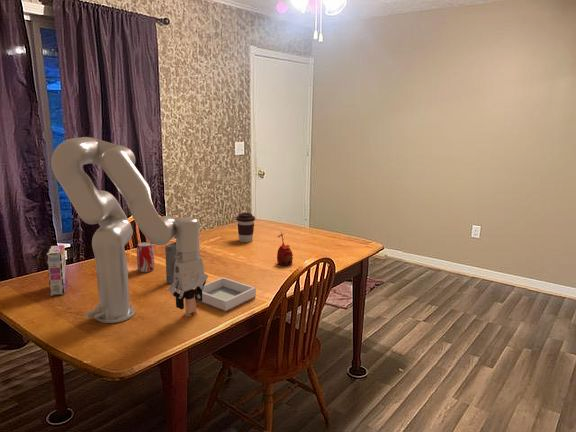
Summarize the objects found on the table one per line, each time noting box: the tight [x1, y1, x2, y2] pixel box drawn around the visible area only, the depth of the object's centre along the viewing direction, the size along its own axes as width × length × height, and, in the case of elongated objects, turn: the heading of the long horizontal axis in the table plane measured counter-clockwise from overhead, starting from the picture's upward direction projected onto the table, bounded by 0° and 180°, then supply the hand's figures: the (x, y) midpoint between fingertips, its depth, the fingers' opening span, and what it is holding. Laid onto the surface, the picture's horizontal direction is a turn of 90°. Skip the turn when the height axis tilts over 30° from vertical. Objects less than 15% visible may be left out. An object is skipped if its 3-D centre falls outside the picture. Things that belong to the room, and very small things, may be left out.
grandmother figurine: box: [182, 288, 201, 318], centre depth 147 cm, size 8×4×13 cm, turn 141°
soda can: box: [136, 241, 155, 273], centre depth 188 cm, size 7×7×12 cm
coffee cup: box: [236, 212, 256, 243], centre depth 235 cm, size 10×10×15 cm
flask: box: [164, 241, 177, 285], centre depth 178 cm, size 4×14×18 cm, turn 152°
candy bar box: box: [46, 244, 68, 297], centre depth 164 cm, size 11×5×16 cm, turn 21°
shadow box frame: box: [194, 276, 257, 313], centre depth 162 cm, size 16×17×4 cm
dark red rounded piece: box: [276, 231, 294, 266], centre depth 200 cm, size 8×7×15 cm
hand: (189, 303), depth 148 cm, fingers closed on grandmother figurine, 7 cm apart
